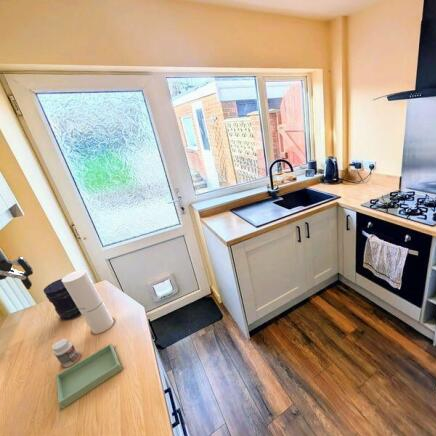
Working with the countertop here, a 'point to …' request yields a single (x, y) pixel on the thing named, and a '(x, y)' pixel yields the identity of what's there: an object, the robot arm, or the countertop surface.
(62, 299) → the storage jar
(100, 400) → the countertop surface
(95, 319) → the cylindrical container
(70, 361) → the pill bottle
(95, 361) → the tray
